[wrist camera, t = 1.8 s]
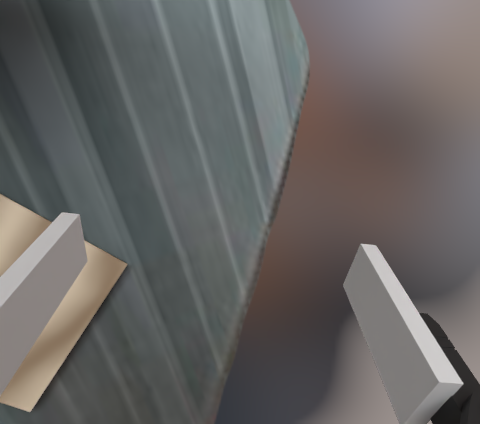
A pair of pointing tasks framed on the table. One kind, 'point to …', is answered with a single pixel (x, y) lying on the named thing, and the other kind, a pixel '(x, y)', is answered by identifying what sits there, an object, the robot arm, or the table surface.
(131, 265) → the table surface
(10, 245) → the board
